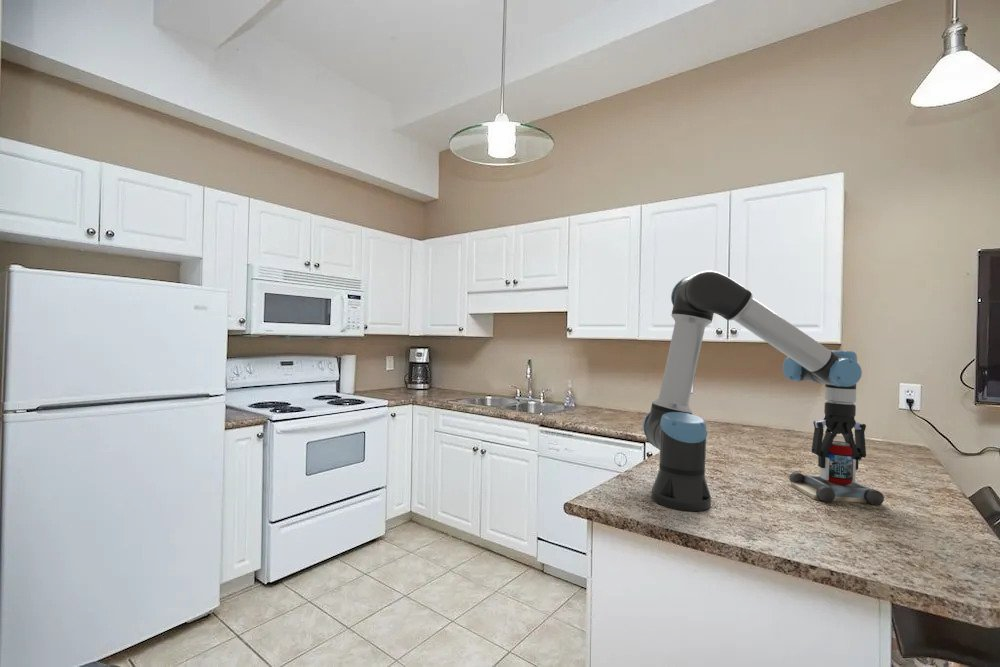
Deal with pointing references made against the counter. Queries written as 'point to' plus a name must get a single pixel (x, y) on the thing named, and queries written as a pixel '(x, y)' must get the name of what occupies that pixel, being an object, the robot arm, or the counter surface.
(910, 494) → the counter surface
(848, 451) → the beverage can
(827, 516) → the counter surface
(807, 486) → the chassis
